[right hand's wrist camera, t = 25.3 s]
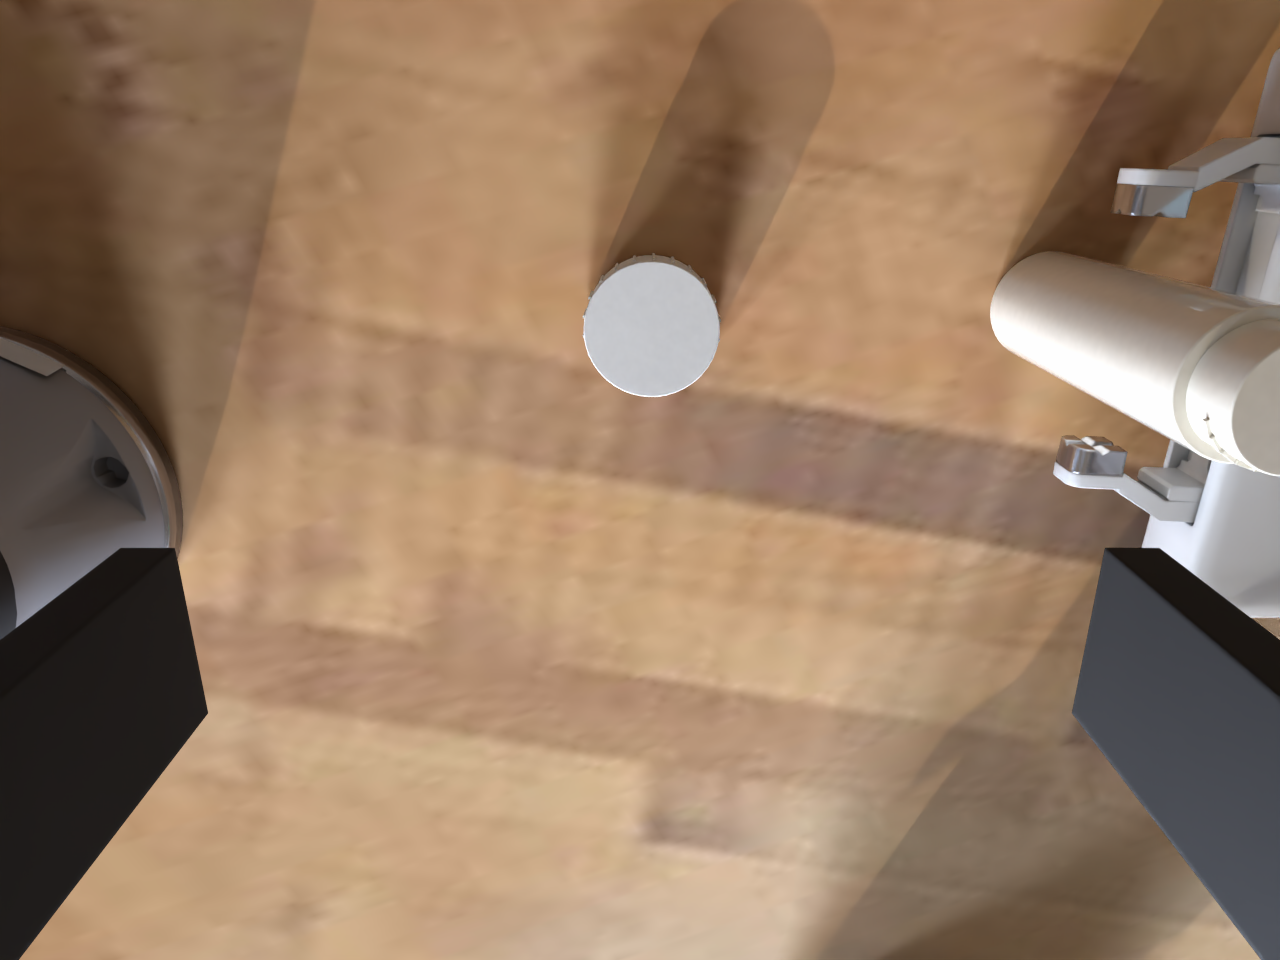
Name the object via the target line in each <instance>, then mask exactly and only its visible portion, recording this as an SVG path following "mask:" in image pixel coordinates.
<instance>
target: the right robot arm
mask: <svg viewBox="0 0 1280 960" xmlns="http://www.w3.org/2000/svg"><path fill="white" fill-rule="evenodd" d="M182 530H183V512H182V503H181V496H180V491H179V487H178V483H177V479H176V476H175V473H174V470H173V467H172V465H171V462H170V460H169V458H168V455H167V453H166V451H165V449H164V447H163V445H162V443H161V441H160V440H159V438H158V436H157V434H156V433H155V431H154V430H153V428H152V427H151V425H150V424H149V422H148V421H147V419H146V418H145V417H144V415H143V414H142V413H141V412H140V410H139V409H138V408H137V407H136V406H135V404H134V403H133V402H132V401H131V400H130V399H129V398H128V397H127V396H126V395H125V394H124V393H123V392H122V391H121V389H120V388H118V387H117V386H116V385H115V384H114V383H113V382H112V381H111V380H109V379H108V378H107V377H106V376H105V375H104V374H102V373H101V372H100V371H98V370H97V369H96V368H94V367H93V366H92V365H90V364H89V363H87V362H86V361H84V360H82V359H81V358H79V357H78V356H76V355H75V354H73V353H71V352H69V351H67V350H65V349H63V348H62V347H60V346H58V345H56V344H54V343H51V342H49V341H47V340H44V339H42V338H40V337H37V336H34V335H31V334H28V333H25V332H22V331H19V330H15V329H11V328H6V327H2V326H0V960H19V959H20V957H21V956H22V955H23V954H24V952H25V951H26V950H27V948H28V947H29V946H30V944H31V943H32V942H33V941H34V939H35V938H36V937H37V935H38V934H39V933H40V931H41V930H42V929H43V928H44V926H45V925H46V924H47V922H48V921H49V920H50V918H51V917H52V916H53V914H54V913H55V912H56V911H57V909H58V908H59V907H60V905H61V904H62V903H63V901H64V900H65V899H66V898H67V896H68V895H69V894H70V892H71V891H72V890H73V888H74V887H75V886H76V885H77V883H78V882H79V881H80V879H81V878H82V877H83V875H84V874H85V873H86V871H87V870H88V869H89V868H90V866H91V865H92V864H93V862H94V861H95V860H96V858H97V857H98V856H99V855H100V853H101V852H102V851H103V849H104V848H105V847H106V845H107V844H108V843H109V842H110V840H111V839H112V838H113V836H114V835H115V834H116V832H117V831H118V830H119V828H120V827H121V826H122V825H123V823H124V822H125V821H126V819H127V818H128V817H129V815H130V814H131V813H132V812H133V810H134V809H135V808H136V806H137V805H138V804H139V802H140V801H141V800H142V799H143V797H144V796H145V795H146V793H147V792H148V791H149V789H150V788H151V787H152V785H153V784H154V783H155V782H156V780H157V779H158V778H159V776H160V775H161V774H162V772H163V771H164V770H165V769H166V767H167V766H168V765H169V763H170V762H171V761H172V759H173V758H174V757H175V756H176V754H177V753H178V752H179V750H180V749H181V748H182V746H183V745H184V744H185V742H186V741H187V740H188V739H189V737H190V736H191V735H192V733H193V732H194V731H195V729H196V728H197V727H198V726H199V724H200V723H201V722H202V720H203V719H204V718H205V716H206V715H207V714H208V710H207V705H206V700H205V695H204V690H203V685H202V680H201V675H200V670H199V665H198V660H197V655H196V650H195V645H194V641H193V636H192V631H191V626H190V621H189V616H188V611H187V606H186V601H185V596H184V591H183V586H182V581H181V576H180V571H179V566H178V561H177V559H178V555H179V551H180V546H181V541H182ZM1072 714H1073V715H1074V716H1075V718H1076V719H1077V720H1078V722H1079V723H1080V724H1081V726H1082V727H1083V728H1084V729H1085V731H1086V732H1087V733H1088V735H1089V736H1090V737H1091V739H1092V740H1093V741H1094V742H1095V744H1096V745H1097V746H1098V748H1099V749H1100V750H1101V752H1102V753H1103V754H1104V756H1105V757H1106V758H1107V759H1108V761H1109V762H1110V763H1111V765H1112V766H1113V767H1114V769H1115V770H1116V771H1117V772H1118V774H1119V775H1120V776H1121V778H1122V779H1123V780H1124V782H1125V783H1126V784H1127V785H1128V787H1129V788H1130V789H1131V791H1132V792H1133V793H1134V795H1135V796H1136V797H1137V799H1138V800H1139V801H1140V802H1141V804H1142V805H1143V806H1144V808H1145V809H1146V810H1147V812H1148V813H1149V814H1150V815H1151V817H1152V818H1153V819H1154V821H1155V822H1156V823H1157V825H1158V826H1159V827H1160V828H1161V830H1162V831H1163V832H1164V834H1165V835H1166V836H1167V838H1168V839H1169V840H1170V842H1171V843H1172V844H1173V845H1174V847H1175V848H1176V849H1177V851H1178V852H1179V853H1180V855H1181V856H1182V857H1183V858H1184V860H1185V861H1186V862H1187V864H1188V865H1189V866H1190V868H1191V869H1192V870H1193V871H1194V873H1195V874H1196V875H1197V877H1198V878H1199V879H1200V881H1201V882H1202V883H1203V885H1204V886H1205V887H1206V888H1207V890H1208V891H1209V892H1210V894H1211V895H1212V896H1213V898H1214V899H1215V900H1216V901H1217V903H1218V904H1219V905H1220V907H1221V908H1222V909H1223V911H1224V912H1225V913H1226V914H1227V916H1228V917H1229V918H1230V920H1231V921H1232V922H1233V924H1234V925H1235V926H1236V928H1237V929H1238V930H1239V931H1240V933H1241V934H1242V935H1243V937H1244V938H1245V939H1246V941H1247V942H1248V943H1249V944H1250V946H1251V947H1252V948H1253V950H1254V951H1255V952H1256V954H1257V955H1258V956H1259V957H1260V959H1261V960H1280V640H1279V639H1278V638H1276V637H1275V636H1274V635H1273V634H1271V633H1270V632H1269V631H1267V630H1266V629H1265V628H1263V627H1262V626H1261V625H1259V624H1258V623H1257V622H1256V621H1254V620H1253V619H1252V618H1250V617H1249V616H1248V615H1246V614H1245V613H1244V612H1243V611H1241V610H1240V609H1239V608H1237V607H1236V606H1235V605H1233V604H1232V603H1231V602H1229V601H1228V600H1227V599H1226V598H1224V597H1223V596H1222V595H1220V594H1219V593H1218V592H1216V591H1215V590H1214V589H1212V588H1211V587H1210V586H1209V585H1207V584H1206V583H1205V582H1203V581H1202V580H1201V579H1199V578H1198V577H1197V576H1195V575H1194V574H1193V573H1192V572H1190V571H1189V570H1188V569H1186V568H1185V567H1184V566H1182V565H1181V564H1180V563H1178V562H1177V561H1176V560H1175V559H1173V558H1172V557H1171V556H1169V555H1168V554H1167V553H1165V552H1164V551H1163V550H1162V549H1160V548H1105V551H1104V556H1103V561H1102V566H1101V571H1100V576H1099V581H1098V586H1097V591H1096V596H1095V601H1094V606H1093V611H1092V616H1091V621H1090V626H1089V631H1088V636H1087V641H1086V645H1085V650H1084V655H1083V660H1082V665H1081V670H1080V675H1079V680H1078V685H1077V690H1076V695H1075V700H1074V705H1073V710H1072Z"/></svg>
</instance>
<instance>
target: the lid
mask: <svg viewBox="0 0 1280 960" xmlns="http://www.w3.org/2000/svg"><path fill="white" fill-rule="evenodd" d="M588 299H590V301H589V304H588V307H587V309H586V310H585V312H584V315H583V318H585V319H584V333H583V338H584V339H585V345H586V348H587V351H588V355H589V356H590V358H591V361H592V362H593V364H594V366H595V367H596V369H597V370H598V371H599V372H600V374H601V375H602V376H603V377H604V378H605V379H606V380H607V381H609V382H610V383H611V384H613V385H614V386H616V387H617V388H619V389H621V390H623V391H626V392H628V393H631V394H635V395H639V396H647V397H657V396H664V395H668V394H672V393H675V392H677V391H680V390H682V389H684V388H686V387H687V386H689V385H691V384H692V383H693V382H694V381H696V380H697V379H698V378H699V377H700V376H701V375H702V374H703V373H704V371H705V370H706V369H707V368H708V366H709V364H710V363H711V361H712V360H713V357H714V355H715V352H716V350H717V346H718V342H719V341H720V338H719V335H720V322H721V319H720V317H719V315H718V311H717V307H716V305H715V303H717V302H716V300H715V297H714V295H713V294H712V295H711V293H710V291H709V290H708V288H707V284H706V281H705V279H704V278H702V279H701V278H700V276H699V275H698V274H697V273H696V272H695V271H694V270H692V267H691V266H690V265H688V266H687V265H685V264H683V263H682V262H680V261H678V260H675V259H674V257H673V256H671V258H669V257H665V256H659V255H655V253H652V255H644V256H637V257H636V255H634V256H633V258H631V259H628V260H626V261H623V262H621V263H620V264H618V262H617V263H616V264H615V267H613V268H612V269H611V270H610V271H609V272H607V273H606V274H605V275H602V276H601V278H600V281H599V283H598V284H597V286H596V288H595V290H594V291H591V293H590V296H589V298H588Z"/></svg>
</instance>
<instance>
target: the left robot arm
mask: <svg viewBox="0 0 1280 960" xmlns="http://www.w3.org/2000/svg"><path fill="white" fill-rule="evenodd" d="M1218 181H1221V182H1238V186H1237V190H1236V194H1235V197H1234V201H1233V205H1232V209H1231V212H1230V216H1229V220H1228V224H1227V228H1226V231H1225V235H1224V239H1223V243H1222V246H1221V250H1220V254H1219V258H1218V262H1217V265H1216V269H1215V273H1214V277H1213V280H1212V284H1211V288H1215V289H1220V290H1224V291H1228V292H1232V293H1236V294H1240V295H1245V296H1249V297H1253V298H1257V299H1261V300H1265V301H1269V302H1274V303H1278V304H1280V48H1278V49H1277V50H1276V52H1275V53H1274V55H1273V57H1272V59H1271V62H1270V65H1269V69H1268V72H1267V76H1266V80H1265V84H1264V88H1263V92H1262V95H1261V99H1260V103H1259V107H1258V111H1257V114H1256V118H1255V122H1254V126H1253V129H1252V133H1251V137H1249V138H1222V139H1220V140H1218V141H1216V142H1214V143H1212V144H1211V145H1209V146H1207V147H1205V148H1203V149H1201V150H1199V151H1197V152H1195V153H1193V154H1191V155H1189V156H1187V157H1185V158H1183V159H1182V160H1180V161H1178V162H1176V163H1174V164H1172V165H1170V166H1169V167H1168V170H1164V169H1140V168H1120V172H1119V176H1118V181H1117V183H1120V184H1117V185H1116V190H1115V194H1114V199H1113V204H1112V208H1111V213H1117V214H1123V215H1134V216H1150V217H1152V216H1159V217H1172V218H1186V215H1187V211H1188V208H1189V204H1190V200H1191V197H1192V193H1193V192H1196V191H1198V190H1200V189H1203V188H1205V187H1207V186H1209V185H1211V184H1213V183H1215V182H1218ZM1126 456H1127V451H1125V450H1124V449H1122V448H1121V447H1119V446H1113V443H1112V442H1111V441H1109V440H1108V439H1106V438H1104V437H1095V436H1086V437H1084V438H1082V439H1079V438H1077V437H1076V436H1073V435H1065V436H1062V437H1061V441H1060V445H1059V450H1058V454H1057V458H1056V462H1055V466H1054V471H1053V474H1054V475H1055V476H1056V477H1058V478H1059V479H1060V480H1061V481H1063V482H1064V483H1065V484H1068V485H1071V486H1074V487H1079V488H1094V489H1114V490H1115V491H1116V492H1118V493H1119V494H1121V495H1122V496H1124V497H1125V498H1127V499H1128V500H1130V501H1131V502H1133V503H1134V504H1136V505H1137V506H1139V507H1140V508H1142V509H1143V510H1145V511H1146V512H1148V513H1149V514H1150V518H1149V522H1148V526H1147V530H1146V533H1145V537H1144V540H1143V544H1142V547H1141V548H1160V549H1162V550H1163V551H1164V552H1165V553H1167V554H1168V555H1169V556H1171V557H1172V558H1173V559H1175V560H1176V561H1177V562H1178V563H1180V564H1181V565H1182V566H1184V567H1185V568H1186V569H1188V570H1189V571H1190V572H1192V573H1193V574H1194V575H1195V576H1197V577H1198V578H1199V579H1201V580H1202V581H1203V582H1205V583H1206V584H1207V585H1209V586H1210V587H1211V588H1212V589H1214V590H1215V591H1216V592H1218V593H1219V594H1220V595H1222V596H1223V597H1224V598H1226V599H1227V600H1228V601H1229V602H1231V603H1232V604H1233V605H1235V606H1236V607H1237V608H1239V609H1240V610H1241V611H1243V612H1244V613H1245V614H1246V615H1248V616H1249V617H1250V618H1280V476H1272V475H1269V474H1265V473H1262V472H1255V471H1253V470H1250V469H1247V468H1244V467H1241V466H1238V465H1236V464H1227V463H1220V462H1216V461H1212V460H1209V459H1207V458H1204V457H1202V456H1200V455H1198V454H1196V453H1194V452H1193V451H1191V450H1189V449H1187V448H1185V447H1183V446H1182V445H1180V444H1178V443H1176V442H1174V441H1173V440H1171V439H1170V443H1169V446H1168V450H1167V454H1166V458H1165V462H1164V465H1163V467H1142V468H1140V469H1139V473H1138V477H1137V478H1138V480H1139V481H1135V480H1133V479H1132V478H1131V477H1129V476H1128V475H1126V474H1125V473H1123V470H1124V466H1125V461H1126Z"/></svg>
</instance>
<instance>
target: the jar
mask: <svg viewBox="0 0 1280 960" xmlns="http://www.w3.org/2000/svg"><path fill="white" fill-rule="evenodd" d="M990 317H991V324H992V328H993V331H994V333H995V335H996V337H997V339H998V340H999V341H1000V343H1001V344H1002V345H1003V346H1004V347H1005V348H1006V349H1007V350H1009V351H1010V352H1012V353H1014V354H1015V355H1017V356H1019V357H1021V358H1023V359H1025V360H1026V361H1028V362H1030V363H1032V364H1034V365H1036V366H1037V367H1039V368H1041V369H1043V370H1045V371H1046V372H1048V373H1050V374H1052V375H1054V376H1056V377H1057V378H1059V379H1061V380H1063V381H1065V382H1067V383H1068V384H1070V385H1072V386H1074V387H1076V388H1078V389H1079V390H1081V391H1083V392H1085V393H1087V394H1088V395H1090V396H1092V397H1094V398H1096V399H1098V400H1099V401H1101V402H1103V403H1105V404H1107V405H1109V406H1110V407H1112V408H1114V409H1116V410H1118V411H1120V412H1121V413H1123V414H1125V415H1127V416H1129V417H1130V418H1132V419H1134V420H1136V421H1138V422H1140V423H1141V424H1143V425H1145V426H1147V427H1149V428H1151V429H1152V430H1154V431H1156V432H1158V433H1160V434H1162V435H1163V436H1165V437H1167V438H1169V439H1171V440H1173V441H1174V442H1176V443H1178V444H1180V445H1182V446H1183V447H1185V448H1187V449H1189V450H1191V451H1193V452H1194V453H1196V454H1198V455H1200V456H1202V457H1204V458H1207V459H1209V460H1212V461H1216V462H1220V463H1227V464H1236V465H1238V466H1241V467H1244V468H1247V469H1250V470H1253V471H1255V472H1262V473H1265V474H1269V475H1272V476H1280V304H1278V303H1274V302H1269V301H1265V300H1261V299H1257V298H1253V297H1249V296H1245V295H1240V294H1236V293H1232V292H1228V291H1224V290H1220V289H1215V288H1211V287H1207V286H1203V285H1199V284H1195V283H1190V282H1186V281H1182V280H1178V279H1174V278H1170V277H1165V276H1161V275H1157V274H1153V273H1149V272H1145V271H1141V270H1136V269H1132V268H1128V267H1124V266H1120V265H1116V264H1111V263H1107V262H1103V261H1099V260H1095V259H1091V258H1086V257H1082V256H1078V255H1074V254H1070V253H1066V252H1060V251H1047V252H1041V253H1037V254H1034V255H1031V256H1029V257H1027V258H1025V259H1023V260H1021V261H1020V262H1018V263H1017V264H1016V265H1014V266H1013V267H1012V268H1011V269H1010V270H1009V271H1008V272H1007V273H1006V274H1005V275H1004V277H1003V278H1002V279H1001V281H1000V282H999V284H998V286H997V288H996V290H995V293H994V295H993V299H992V302H991V310H990Z"/></svg>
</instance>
